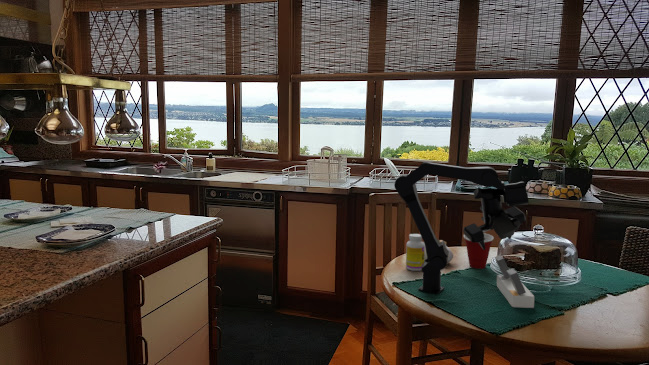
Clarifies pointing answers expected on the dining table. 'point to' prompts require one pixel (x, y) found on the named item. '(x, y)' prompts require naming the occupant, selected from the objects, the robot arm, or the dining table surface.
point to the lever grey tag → (502, 266)
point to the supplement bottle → (415, 253)
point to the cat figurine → (450, 255)
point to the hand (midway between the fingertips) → (496, 243)
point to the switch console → (515, 293)
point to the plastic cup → (478, 252)
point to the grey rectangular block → (516, 281)
